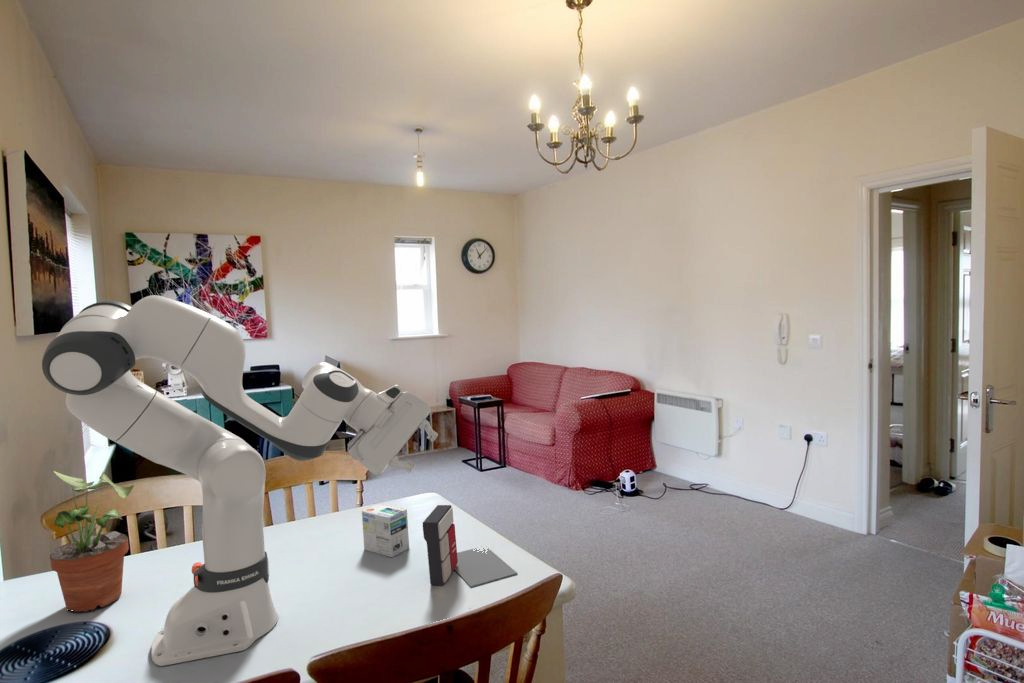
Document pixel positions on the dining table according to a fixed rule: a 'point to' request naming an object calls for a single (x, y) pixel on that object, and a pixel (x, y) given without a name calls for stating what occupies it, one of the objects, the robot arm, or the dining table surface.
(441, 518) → the dark grey lidded case
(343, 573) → the dining table surface
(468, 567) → the mat
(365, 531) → the light bulb box
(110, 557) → the potted plant
